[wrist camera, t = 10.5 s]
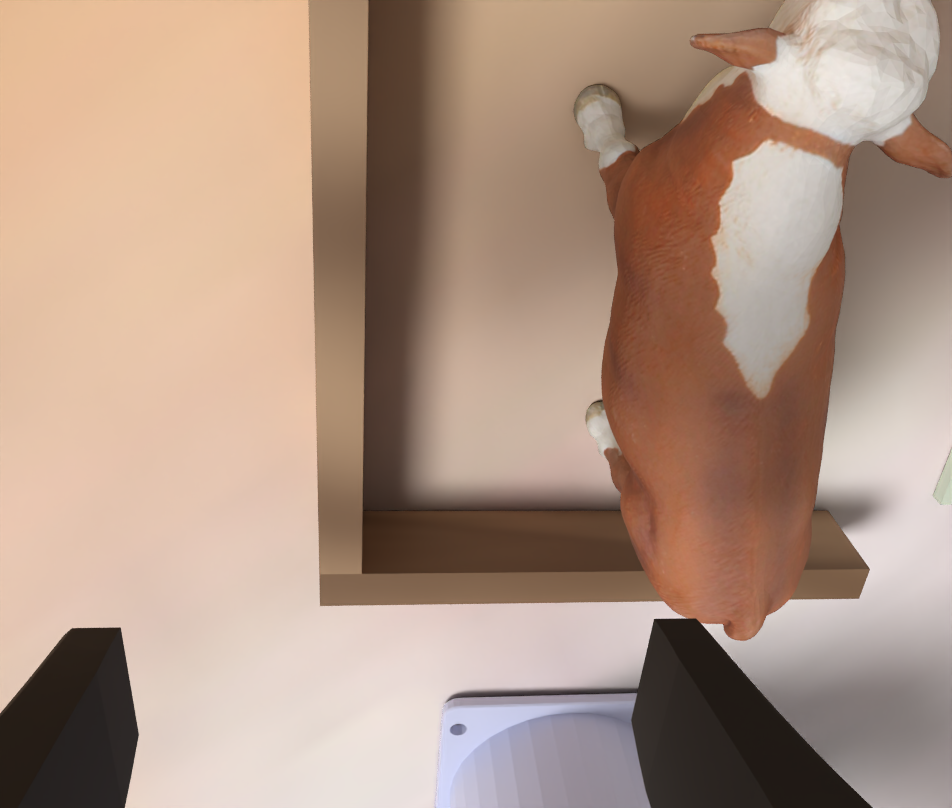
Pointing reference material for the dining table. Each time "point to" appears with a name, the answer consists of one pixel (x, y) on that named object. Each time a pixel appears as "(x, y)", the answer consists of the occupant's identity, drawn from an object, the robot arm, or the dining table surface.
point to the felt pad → (945, 484)
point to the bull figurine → (744, 291)
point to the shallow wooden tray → (342, 419)
